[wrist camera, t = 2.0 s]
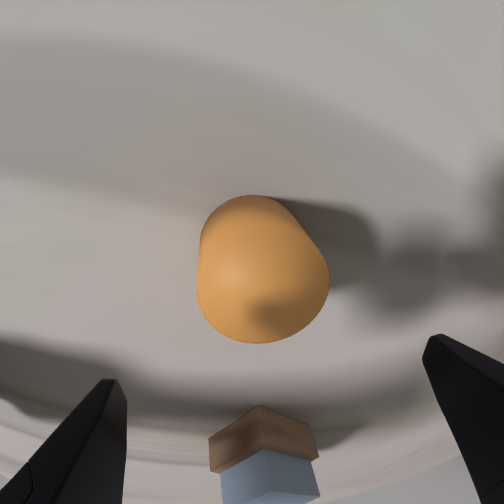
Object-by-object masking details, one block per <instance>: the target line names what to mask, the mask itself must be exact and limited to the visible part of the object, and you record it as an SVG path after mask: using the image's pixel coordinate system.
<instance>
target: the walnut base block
mask: <svg viewBox="0 0 504 504" xmlns="http://www.w3.org/2000/svg"><path fill="white" fill-rule="evenodd" d="M263 449H267V450H270V451H274V452H278V453H282V454H285V455H289V456H293V457H298V458H302V459H306V460H310V461H313V460H315V459H316V458H318V457H319V454H318V451H317V448H316V444H315V441H314V438H313V435H312V431H311V428H310V426H309V425H307V424H304V423H301V422H299V421H296V420H293V419H291V418H288V417H286V416H283V415H281V414H278V413H276V412H274V411H271V410H269V409H266V408H264V407H262V406H259V405H257V406H256V407H255V408H253V409H252V410H250V411H249V412H248V413H246V414H245V415H243V416H242V417H240V418H239V419H237V420H236V421H235V422H233V423H232V424H230V425H229V426H227V427H226V428H224V429H223V430H221V431H219V432H218V433H216V434H215V435H213V436H212V437H210V438H209V458H210V471H211V472H215V473H218V474H220V473H221V472H223V471H225V470H227V469H229V468H231V467H233V466H235V465H236V464H238V463H240V462H242V461H244V460H245V459H247V458H249V457H251V456H252V455H254V454H256V453H258V452H259V451H261V450H263Z"/></svg>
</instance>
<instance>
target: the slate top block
mask: <svg viewBox="0 0 504 504" xmlns="http://www.w3.org/2000/svg"><path fill="white" fill-rule="evenodd" d="M220 476H221V488H222V499H223V504H305V503H307V502H309V501H312V500H314V499H316V498H318V497H320V493H319V490H318V486H317V483H316V479H315V475H314V472H313V468H312V465H311V461H310V460H306V459H302V458H298V457H293V456H289V455H285V454H282V453H278V452H274V451H270V450H267V449H263V450H261V451H259V452H258V453H256V454H254V455H252V456H251V457H249V458H247V459H245V460H244V461H242V462H240V463H238V464H236V465H235V466H233V467H231V468H229V469H227V470H225V471H223V472H221V473H220Z"/></svg>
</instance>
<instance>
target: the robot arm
mask: <svg viewBox="0 0 504 504" xmlns="http://www.w3.org/2000/svg"><path fill="white" fill-rule="evenodd" d="M422 361H423V365H424V367H425V370H426V372H427V375H428V377H429V380H430V383H431V385H432V388H433V391H434V393H435V396H436V399H437V401H438V403H439V406H440V408H441V410H442V412H443V414H444V416H445V418H446V420H447V422H448V425H449V427H450V429H451V431H452V433H453V436H454V438H455V440H456V442H457V445H458V447H459V449H460V451H461V454H462V456H463V458H464V461H465V463H466V466H467V468H468V471H469V473H470V475H471V478H472V481H473V483H474V486H475V488H476V491H477V494H478V496H479V498H480V502H481V504H504V364H503V363H501V362H499V361H497V360H495V359H493V358H491V357H489V356H487V355H485V354H483V353H480V352H478V351H476V350H474V349H472V348H470V347H468V346H466V345H464V344H462V343H460V342H458V341H456V340H454V339H452V338H450V337H448V336H446V335H444V334H437V335H434V336H431V337H430V338H429V340H428V342H427V345H426V348H425V350H424V353H423V356H422ZM126 452H127V400H126V397H125V395H124V393H123V391H122V388H121V386H120V384H119V382H118V381H117V380H116V379H111V378H104V379H102V380H100V381H99V382H98V383H97V385H96V386H95V387H94V388H93V389H92V390H91V391H90V392H89V393H88V394H87V395H86V397H85V398H84V399H83V400H82V401H81V402H80V403H79V404H78V405H77V406H76V408H75V409H74V410H73V411H72V412H71V413H70V414H69V415H68V416H67V417H66V419H65V420H64V421H63V422H62V423H61V424H60V425H59V426H58V427H57V429H56V430H55V431H54V432H53V433H52V434H51V435H50V436H49V438H48V439H47V440H46V441H45V442H44V443H43V444H42V445H41V447H40V448H39V449H38V450H37V451H36V452H35V453H34V455H33V456H32V457H31V458H30V459H29V461H28V462H29V463H28V462H26V464H25V465H24V466H23V467H22V468H21V469H20V470H19V471H18V473H17V474H16V475H15V476H14V477H13V478H12V479H11V480H10V481H9V482H8V483H7V484H6V485H5V486H4V487H3V488H2V489H1V490H0V504H122V495H123V483H124V473H125V463H126Z"/></svg>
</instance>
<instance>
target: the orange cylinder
mask: <svg viewBox="0 0 504 504" xmlns="http://www.w3.org/2000/svg"><path fill="white" fill-rule="evenodd" d="M329 286H330V276H329V269H328V266H327V263H326V261H325V259H324V257H323V255H322V254H321V252H320V251H319V249H318V248H317V247H316V245H315V244H314V243H313V241H312V240H311V239H310V237H309V236H308V235H307V233H306V232H305V231H304V229H303V228H302V227H301V225H300V224H299V223H298V221H297V220H296V219H295V218H294V216H293V215H292V214H291V212H290V211H289V210H288V209H287V208H286V207H285V206H283V205H282V204H281V203H279V202H277V201H276V200H273V199H271V198H268V197H264V196H259V195H246V196H240V197H237V198H234V199H231V200H229V201H227V202H225V203H223V204H222V205H220V206H219V207H218V208H217V209H216V210H215V211H214V212H213V213H212V214H211V215H210V216H209V218H208V219H207V221H206V222H205V224H204V227H203V229H202V233H201V237H200V249H199V264H198V281H197V299H198V303H199V307H200V309H201V312H202V314H203V315H204V317H205V319H206V320H207V321H208V323H209V324H210V325H211V326H212V327H213V328H214V329H215V330H217V331H218V332H220V333H221V334H223V335H225V336H226V337H228V338H231V339H233V340H236V341H240V342H245V343H256V344H259V343H269V342H275V341H279V340H282V339H285V338H287V337H290V336H292V335H294V334H296V333H297V332H299V331H300V330H302V329H303V328H305V327H306V326H307V325H308V324H309V323H310V322H311V321H312V320H313V319H314V318H315V317H316V316H317V315H318V313H319V312H320V310H321V309H322V307H323V305H324V303H325V301H326V298H327V295H328V292H329Z"/></svg>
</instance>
